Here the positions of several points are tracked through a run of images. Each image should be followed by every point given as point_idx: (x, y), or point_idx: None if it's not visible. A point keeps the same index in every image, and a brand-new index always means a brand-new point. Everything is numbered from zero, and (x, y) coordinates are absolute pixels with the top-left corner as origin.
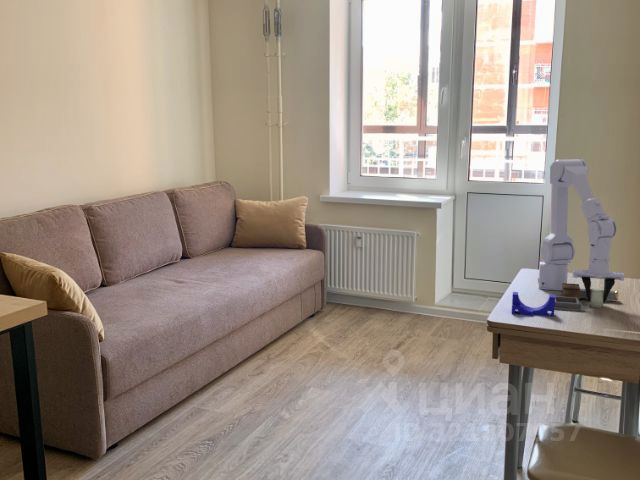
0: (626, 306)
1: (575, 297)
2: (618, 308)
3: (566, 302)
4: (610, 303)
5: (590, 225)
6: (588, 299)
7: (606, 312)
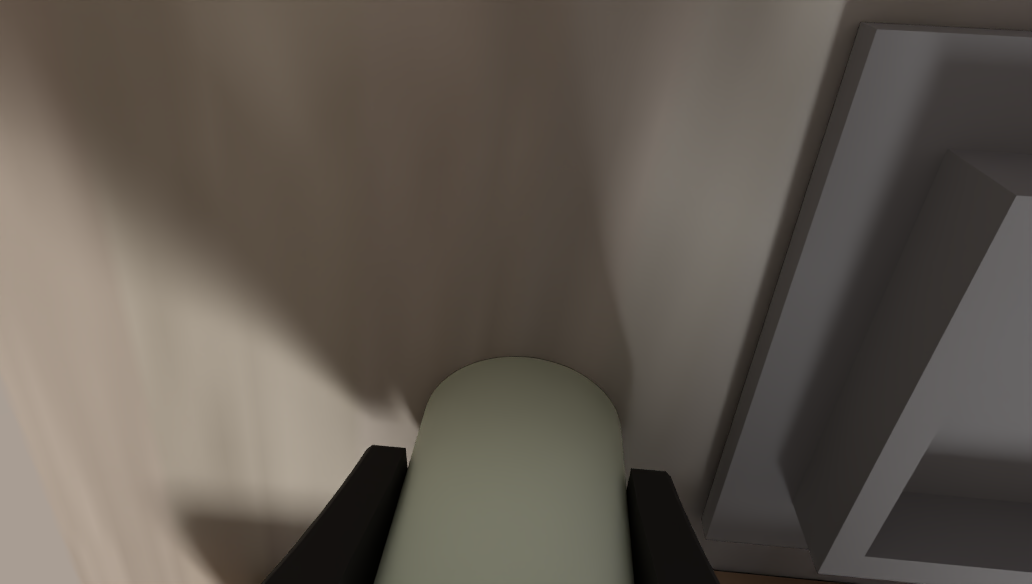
0: (122, 453)
1: (855, 575)
2: (204, 361)
3: None
4: None
5: None
6: (663, 495)
7: (381, 94)
